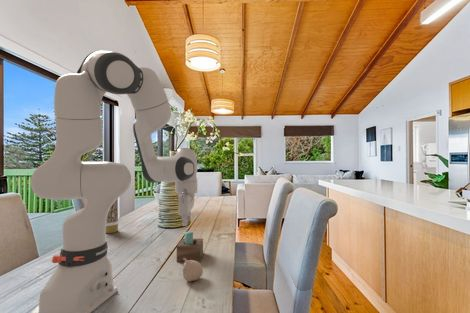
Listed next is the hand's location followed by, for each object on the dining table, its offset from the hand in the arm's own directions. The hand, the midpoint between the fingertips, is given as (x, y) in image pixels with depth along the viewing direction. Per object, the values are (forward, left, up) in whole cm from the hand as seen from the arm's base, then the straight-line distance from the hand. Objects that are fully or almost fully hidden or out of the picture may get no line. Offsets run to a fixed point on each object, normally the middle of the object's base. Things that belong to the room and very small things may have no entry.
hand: (186, 222), depth 104 cm
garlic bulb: (-20, -6, -14) cm, 25 cm away
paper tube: (+35, +47, -14) cm, 60 cm away
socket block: (-1, -2, -14) cm, 14 cm away
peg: (-1, -1, -14) cm, 14 cm away
